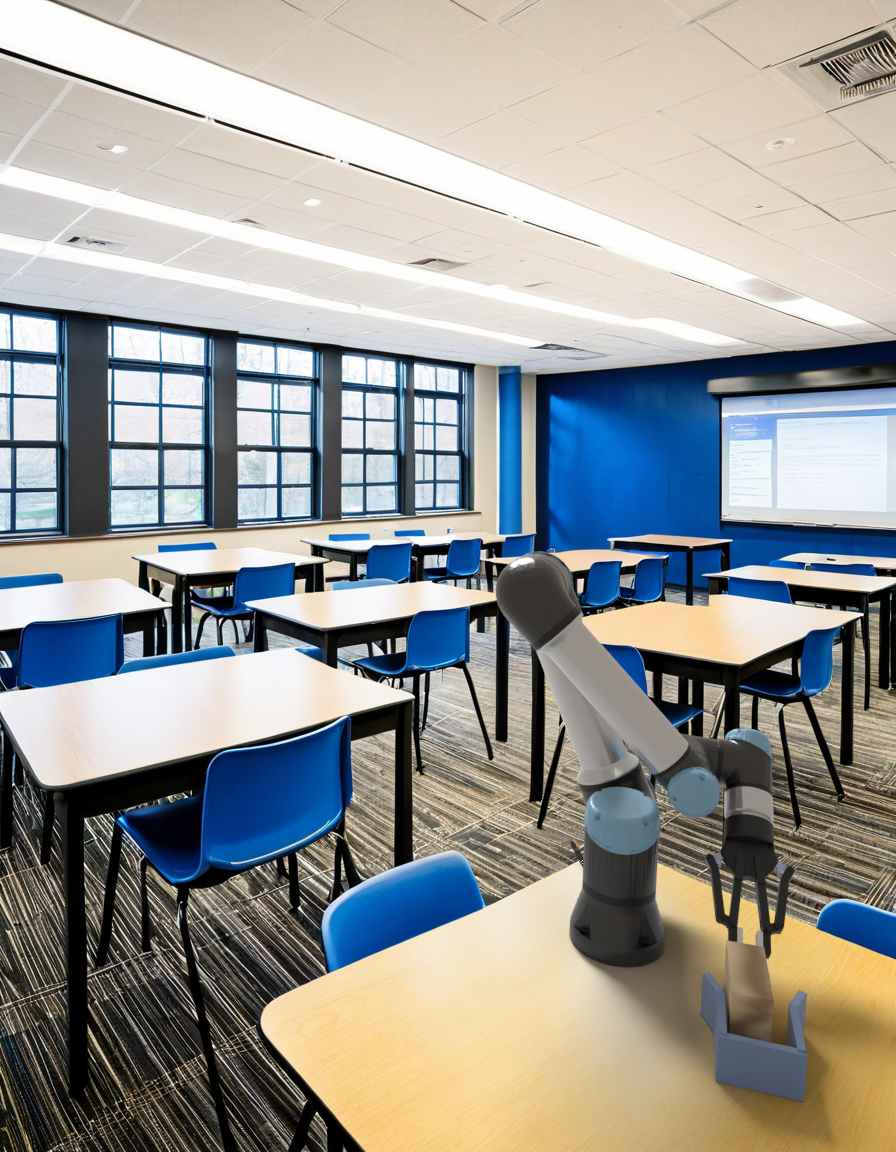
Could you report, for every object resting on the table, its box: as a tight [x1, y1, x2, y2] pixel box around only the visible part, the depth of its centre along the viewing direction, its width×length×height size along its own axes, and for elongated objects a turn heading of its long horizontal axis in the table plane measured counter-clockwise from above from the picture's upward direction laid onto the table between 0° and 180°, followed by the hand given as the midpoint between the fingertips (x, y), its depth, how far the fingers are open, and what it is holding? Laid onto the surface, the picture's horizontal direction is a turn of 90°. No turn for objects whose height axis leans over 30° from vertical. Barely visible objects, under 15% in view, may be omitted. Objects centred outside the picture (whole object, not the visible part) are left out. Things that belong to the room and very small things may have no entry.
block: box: [722, 940, 775, 1043], centre depth 104 cm, size 5×12×9 cm, turn 163°
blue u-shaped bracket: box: [699, 971, 808, 1103], centre depth 99 cm, size 13×13×6 cm
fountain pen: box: [570, 839, 584, 867], centre depth 152 cm, size 14×1×2 cm, turn 5°
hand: (749, 978), depth 110 cm, fingers open, 2 cm apart
